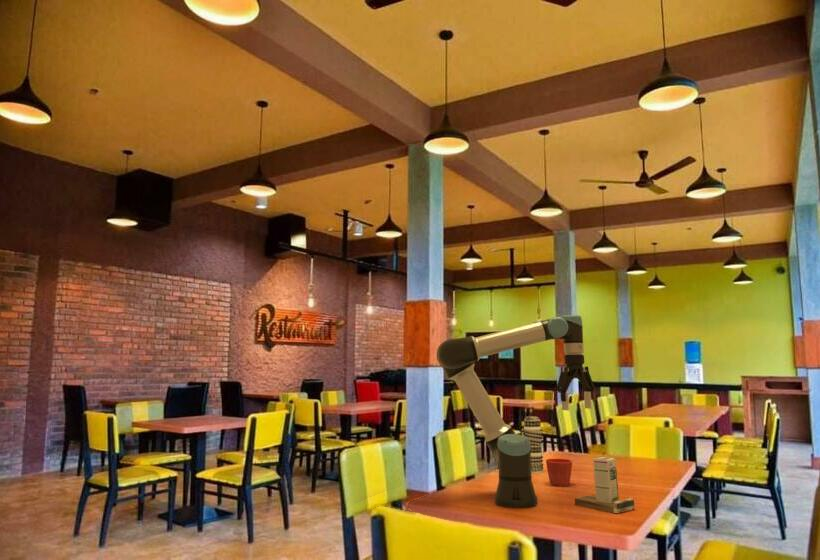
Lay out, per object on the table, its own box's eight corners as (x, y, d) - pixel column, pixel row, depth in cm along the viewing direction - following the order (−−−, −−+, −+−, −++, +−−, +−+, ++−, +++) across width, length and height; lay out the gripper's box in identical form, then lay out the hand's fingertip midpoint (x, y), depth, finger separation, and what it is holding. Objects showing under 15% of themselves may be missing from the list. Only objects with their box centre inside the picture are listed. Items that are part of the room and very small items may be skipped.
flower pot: (570, 481, 247) (569, 458, 248) (575, 487, 236) (574, 462, 237) (545, 481, 248) (544, 458, 249) (548, 486, 237) (547, 462, 238)
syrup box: (611, 504, 197) (609, 459, 199) (595, 501, 201) (592, 458, 203) (619, 501, 201) (616, 457, 203) (602, 498, 205) (600, 456, 207)
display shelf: (617, 513, 192) (616, 502, 193) (575, 504, 206) (574, 494, 207) (635, 509, 198) (634, 498, 199) (592, 500, 212) (592, 490, 212)
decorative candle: (532, 469, 278) (530, 415, 282) (548, 471, 271) (546, 416, 275) (520, 471, 272) (518, 416, 276) (536, 474, 265) (533, 417, 269)
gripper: (560, 353, 220) (563, 411, 217) (601, 354, 234) (605, 408, 231) (545, 354, 226) (547, 410, 223) (586, 354, 240) (589, 407, 237)
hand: (576, 409), depth 227 cm, fingers open, 13 cm apart
